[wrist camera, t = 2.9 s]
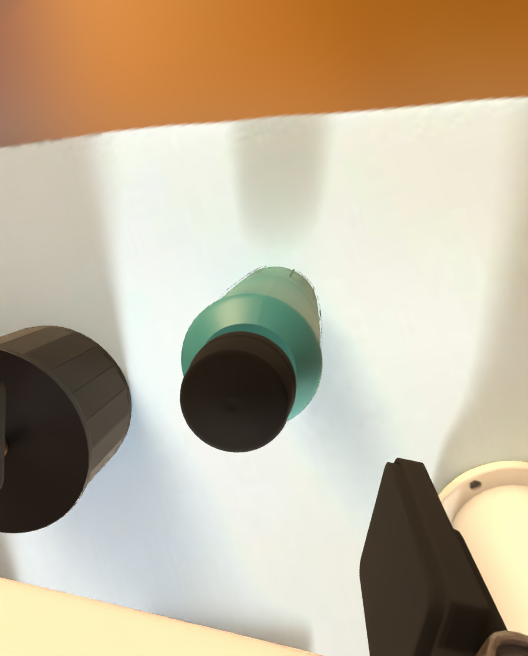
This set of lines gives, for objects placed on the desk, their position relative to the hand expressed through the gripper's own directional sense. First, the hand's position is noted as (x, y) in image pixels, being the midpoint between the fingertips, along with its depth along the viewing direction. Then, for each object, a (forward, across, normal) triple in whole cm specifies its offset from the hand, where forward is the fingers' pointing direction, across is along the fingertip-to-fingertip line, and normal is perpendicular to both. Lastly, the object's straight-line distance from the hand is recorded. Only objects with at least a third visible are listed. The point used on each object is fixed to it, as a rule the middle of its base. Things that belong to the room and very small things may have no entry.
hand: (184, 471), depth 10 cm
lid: (+17, +17, +12) cm, 27 cm away
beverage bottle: (+25, 0, 0) cm, 25 cm away
